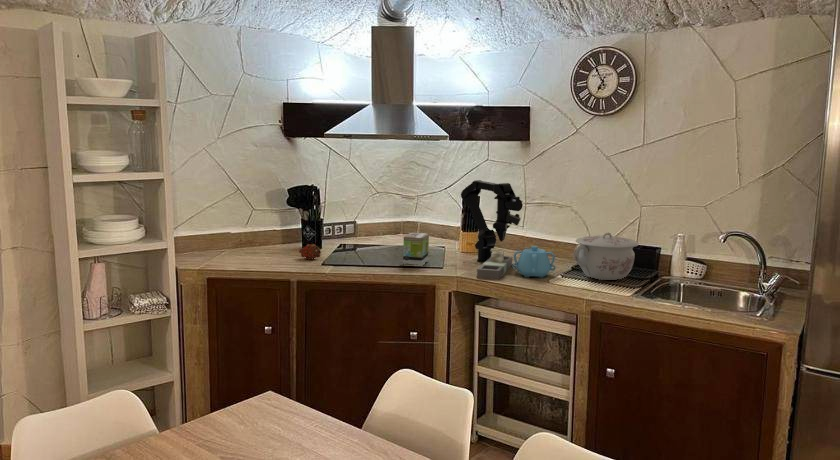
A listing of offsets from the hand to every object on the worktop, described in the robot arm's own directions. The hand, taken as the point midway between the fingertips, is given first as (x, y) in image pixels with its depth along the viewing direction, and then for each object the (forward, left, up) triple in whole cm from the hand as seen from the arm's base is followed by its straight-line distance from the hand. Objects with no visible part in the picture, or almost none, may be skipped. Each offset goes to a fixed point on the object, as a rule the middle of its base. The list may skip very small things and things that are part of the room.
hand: (502, 240), depth 325 cm
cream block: (0, -11, -8) cm, 14 cm away
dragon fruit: (-94, -20, -12) cm, 97 cm away
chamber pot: (+49, -12, -12) cm, 52 cm away
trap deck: (0, -15, -12) cm, 19 cm away
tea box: (-40, -13, -12) cm, 44 cm away
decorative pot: (+18, -18, -12) cm, 28 cm away
